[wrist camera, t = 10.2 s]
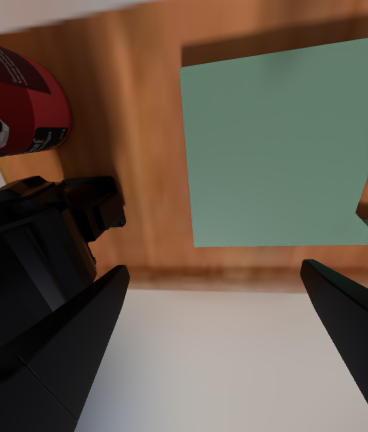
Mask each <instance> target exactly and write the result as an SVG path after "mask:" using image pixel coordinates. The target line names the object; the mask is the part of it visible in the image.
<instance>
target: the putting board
mask: <svg viewBox="0 0 368 432" xmlns="http://www.w3.org/2000/svg"><path fill="white" fill-rule="evenodd" d="M179 75H180V87H181V99H182V110H183V122H184V134H185V145H186V157H187V169H188V181H189V192H190V204H191V216H192V228H193V239H194V247H227V246H300V245H368V219H360V218H359V217H358V215H357V214H356V213H355V211H356V209H357V206H358V203H359V200H360V197H361V194H362V191H363V189H364V186H365V183H366V180H367V177H368V38H364V39H358V40H352V41H345V42H339V43H333V44H326V45H320V46H314V47H307V48H301V49H295V50H288V51H282V52H276V53H269V54H263V55H257V56H250V57H244V58H238V59H231V60H225V61H218V62H212V63H206V64H199V65H193V66H187V67H180V68H179Z"/></svg>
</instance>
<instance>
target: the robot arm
mask: <svg viewBox="0 0 368 432" xmlns="http://www.w3.org/2000/svg"><path fill="white" fill-rule="evenodd" d="M108 179H110V180H111V182H109V181H108ZM66 183H67V184H66ZM120 222H122V223H123V224H121V223H120ZM125 224H126V221H125V218H124V210H123V206H122V202H121V198H120V195H119V194H118V191H117V188H116V184H115V180H114V178H113V177H112V176H99V177H86V178H73V179H65V180H62V182H49V181H46V180H45V179H43V178H42V177H40V176H32V177H28V178H24V179H21V180H17V181H14V182H11V183H9V184H7V185H5V186H3V187H1V188H0V432H74V431H75V428H76V425H77V423H78V422H77V421H78V420H79V417H80V415H81V412H82V410H83V407H84V405H85V402H86V399H87V397H88V394H89V392H90V389H91V386H92V383H93V381H94V379H95V376H96V374H97V371H98V368H99V366H100V363H101V361H102V358H103V355H104V353H105V350H106V347H107V345H108V342H109V340H110V337H111V335H112V332H113V330H114V327H115V324H116V322H117V319H118V317H119V314H120V311H121V308H122V306H123V302H124V299H125V295H126V291H127V288H128V284H129V280H130V276H129V273H128V270H127V267H126V265H117V266H116V267H114V268H113V269H112V270H110V271H109V272H107V273H106V274H105V275H103V276H102V277H101V278H99V279H98V280H96V281H95V282H94V279H95V277H96V274H97V272H96V266H95V265H96V259H95V257H93V255H92V253H91V250H90V248H89V246H88V243H89V242H94V241H95V240H96V239H97V238H98V237H99V236H100V235H101V234H102V233H103V232H104V231H105V230H108V229H109V228H110V227H123V226H124V225H125ZM300 276H301V279H302V281H303V283H304V286H305V288H306V290H307V293H308V295H309V297H310V299H311V302H312V304H313V306H314V308H315V310H316V312H317V314H318V316H319V317H320V319H321V321H322V323H323V325H324V326H325V328H326V330H327V332H328V334H329V336H330V337H331V339H332V341H333V343H334V344H335V346H336V348H337V350H338V352H339V353H340V355H341V357H342V359H343V361H344V362H345V364H346V366H347V368H348V369H349V371H350V373H351V375H352V376H353V378H354V380H355V382H356V384H357V386H358V387H359V389H360V391H361V393H362V394H363V396H364V398H365V400H366V402H367V403H368V288H366V287H364V286H362V285H360V284H358V283H357V282H355V281H353V280H351V279H349V278H347V277H345V276H344V275H342V274H340V273H338V272H336V271H334V270H332V269H331V268H329V267H327V266H325V265H323V264H321V263H320V262H318V261H316V260H314V259H305V260H303V262H302V266H301V271H300ZM93 282H94V283H93Z"/></svg>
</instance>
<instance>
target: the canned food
mask: <svg viewBox="0 0 368 432" xmlns="http://www.w3.org/2000/svg"><path fill="white" fill-rule="evenodd" d="M71 126H72V115H71V109H70V105H69V101H68V99H67V96H66V94H65V92H64V90H63V89H62V87H61V85H60V84H59V83H58V81H57V80H56V79H55V78H54V77H53V76H52V75H51V74H50V73H49V72H48V71H47V70H46V69H45V68H43V67H42V66H41V65H39V64H38V63H37V62H35V61H34V60H31V59H29V58H27V57H24V56H22V55H19V54H17V53H15V52H12V51H10V50H7V49H5V48H2V47H0V157H3V156H11V155H18V154H25V153H33V152H40V151H48V150H52V149H55V148H56V147H58V146H59V145H61V144H62V143H64V141H65V140H66V139H67V138H68V136H69V134H70V130H71Z"/></svg>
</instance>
